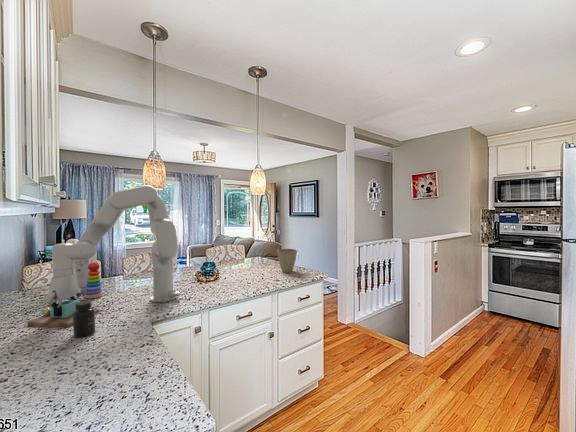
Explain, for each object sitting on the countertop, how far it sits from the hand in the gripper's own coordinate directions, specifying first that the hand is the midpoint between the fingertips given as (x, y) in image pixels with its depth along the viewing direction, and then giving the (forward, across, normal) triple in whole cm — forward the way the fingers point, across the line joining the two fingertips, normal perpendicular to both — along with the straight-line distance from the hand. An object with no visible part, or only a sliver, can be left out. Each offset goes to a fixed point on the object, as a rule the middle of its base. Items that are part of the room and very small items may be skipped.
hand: (65, 312), depth 121 cm
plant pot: (+3, -92, +90) cm, 129 cm away
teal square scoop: (+1, 0, -3) cm, 3 cm away
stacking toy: (+3, -28, -10) cm, 30 cm away
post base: (+3, 0, 0) cm, 3 cm away
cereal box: (+3, -43, -26) cm, 51 cm away
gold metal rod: (+1, +2, -7) cm, 7 cm away
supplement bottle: (+3, +13, +20) cm, 24 cm away
